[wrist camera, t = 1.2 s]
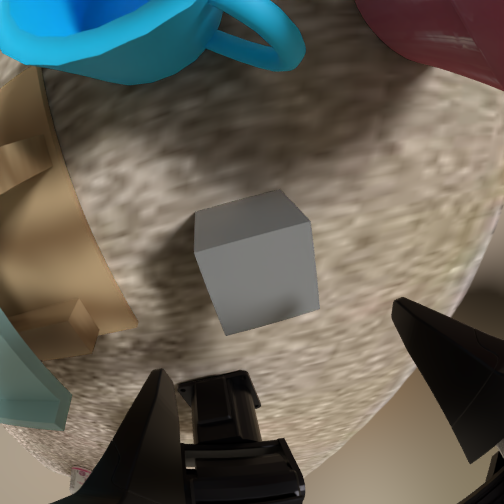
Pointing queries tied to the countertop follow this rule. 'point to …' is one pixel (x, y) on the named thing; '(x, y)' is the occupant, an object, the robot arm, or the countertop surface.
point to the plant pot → (443, 34)
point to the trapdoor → (28, 385)
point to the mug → (143, 36)
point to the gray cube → (257, 261)
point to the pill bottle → (78, 477)
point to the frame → (48, 236)
